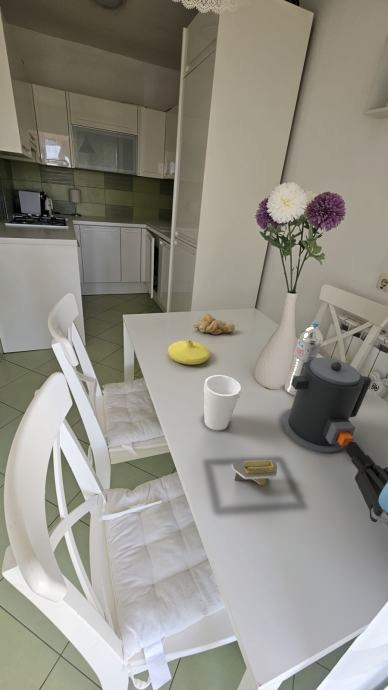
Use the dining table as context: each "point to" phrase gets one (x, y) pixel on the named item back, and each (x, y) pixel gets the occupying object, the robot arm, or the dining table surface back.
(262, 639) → the dining table surface
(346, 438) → the kettle switch
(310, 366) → the kettle
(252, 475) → the platform
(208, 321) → the ginger root
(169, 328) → the dining table surface
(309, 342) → the water bottle
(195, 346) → the yellow knobbed round disc
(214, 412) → the foam cup
